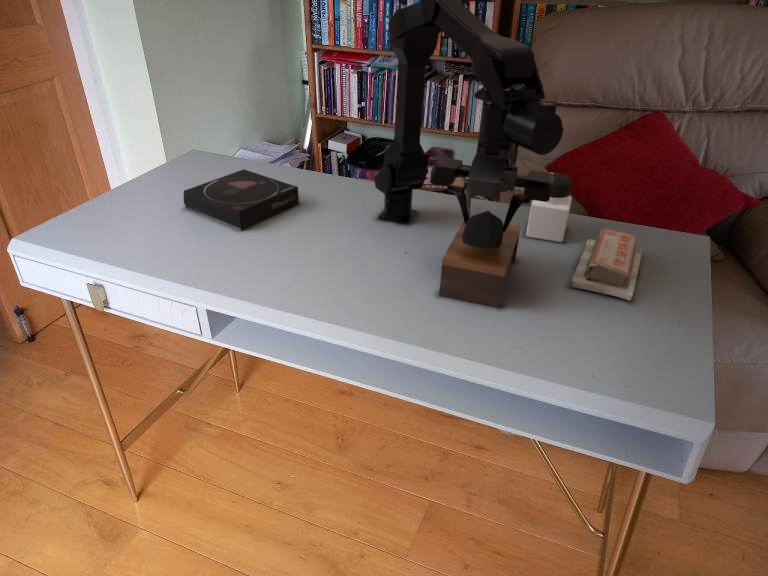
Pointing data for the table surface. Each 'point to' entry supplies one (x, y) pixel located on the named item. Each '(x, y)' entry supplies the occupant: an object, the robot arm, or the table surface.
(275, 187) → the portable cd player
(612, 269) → the packaged product
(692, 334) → the table surface
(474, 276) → the walnut wood stand
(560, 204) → the medicine bottle
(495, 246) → the gaming mouse
